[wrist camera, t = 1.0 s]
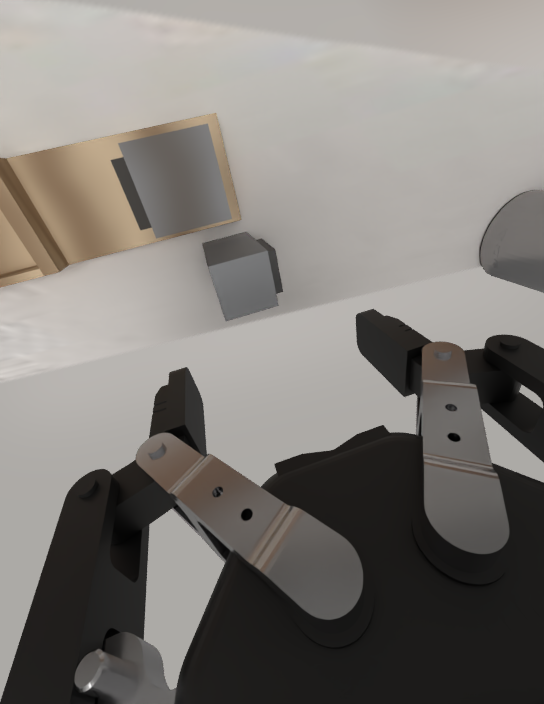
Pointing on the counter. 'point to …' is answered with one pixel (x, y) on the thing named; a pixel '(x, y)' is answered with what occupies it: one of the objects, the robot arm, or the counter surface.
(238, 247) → the block
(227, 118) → the counter surface
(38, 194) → the rail
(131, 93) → the counter surface
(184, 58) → the counter surface
